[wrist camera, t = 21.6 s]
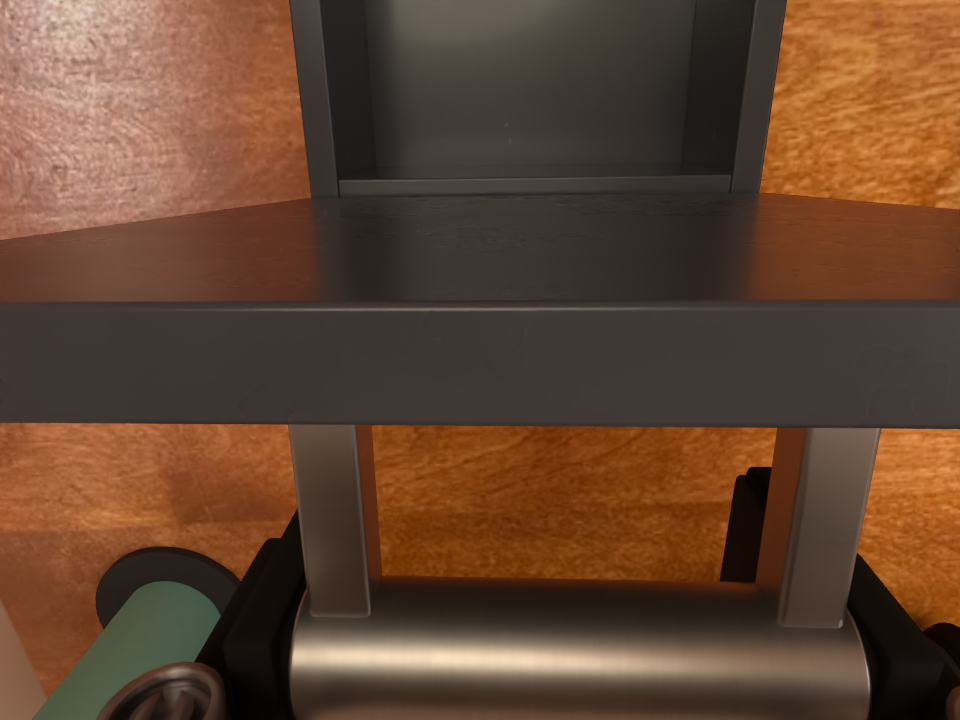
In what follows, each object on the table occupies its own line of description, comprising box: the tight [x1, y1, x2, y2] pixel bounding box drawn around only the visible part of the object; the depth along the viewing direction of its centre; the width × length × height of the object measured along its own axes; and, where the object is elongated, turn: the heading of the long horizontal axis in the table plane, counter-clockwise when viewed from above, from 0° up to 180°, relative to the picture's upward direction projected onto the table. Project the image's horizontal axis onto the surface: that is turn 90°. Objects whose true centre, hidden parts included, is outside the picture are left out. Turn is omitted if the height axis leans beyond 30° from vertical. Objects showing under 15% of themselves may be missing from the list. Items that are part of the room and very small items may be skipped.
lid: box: [0, 193, 960, 720], centre depth 12 cm, size 16×14×5 cm
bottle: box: [32, 581, 221, 720], centre depth 29 cm, size 5×5×12 cm
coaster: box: [96, 547, 241, 629], centre depth 34 cm, size 9×9×1 cm
